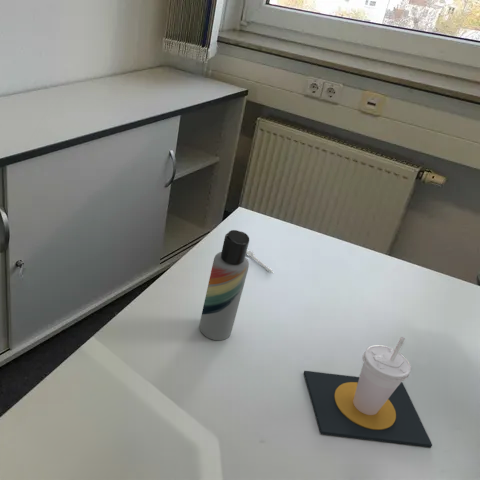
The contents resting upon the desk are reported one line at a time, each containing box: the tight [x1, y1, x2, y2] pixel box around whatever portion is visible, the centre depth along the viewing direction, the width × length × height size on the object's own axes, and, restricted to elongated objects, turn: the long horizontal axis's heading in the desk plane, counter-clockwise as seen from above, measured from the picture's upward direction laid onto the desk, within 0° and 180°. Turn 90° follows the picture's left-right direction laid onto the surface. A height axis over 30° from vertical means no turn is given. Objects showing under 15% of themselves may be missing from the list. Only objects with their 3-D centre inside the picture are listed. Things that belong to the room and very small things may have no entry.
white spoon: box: [246, 248, 275, 274], centre depth 115 cm, size 14×4×2 cm, turn 30°
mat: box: [303, 370, 433, 448], centre depth 83 cm, size 16×12×1 cm
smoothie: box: [353, 336, 412, 415], centre depth 79 cm, size 6×6×14 cm
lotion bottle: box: [199, 229, 250, 341], centre depth 90 cm, size 6×6×20 cm
